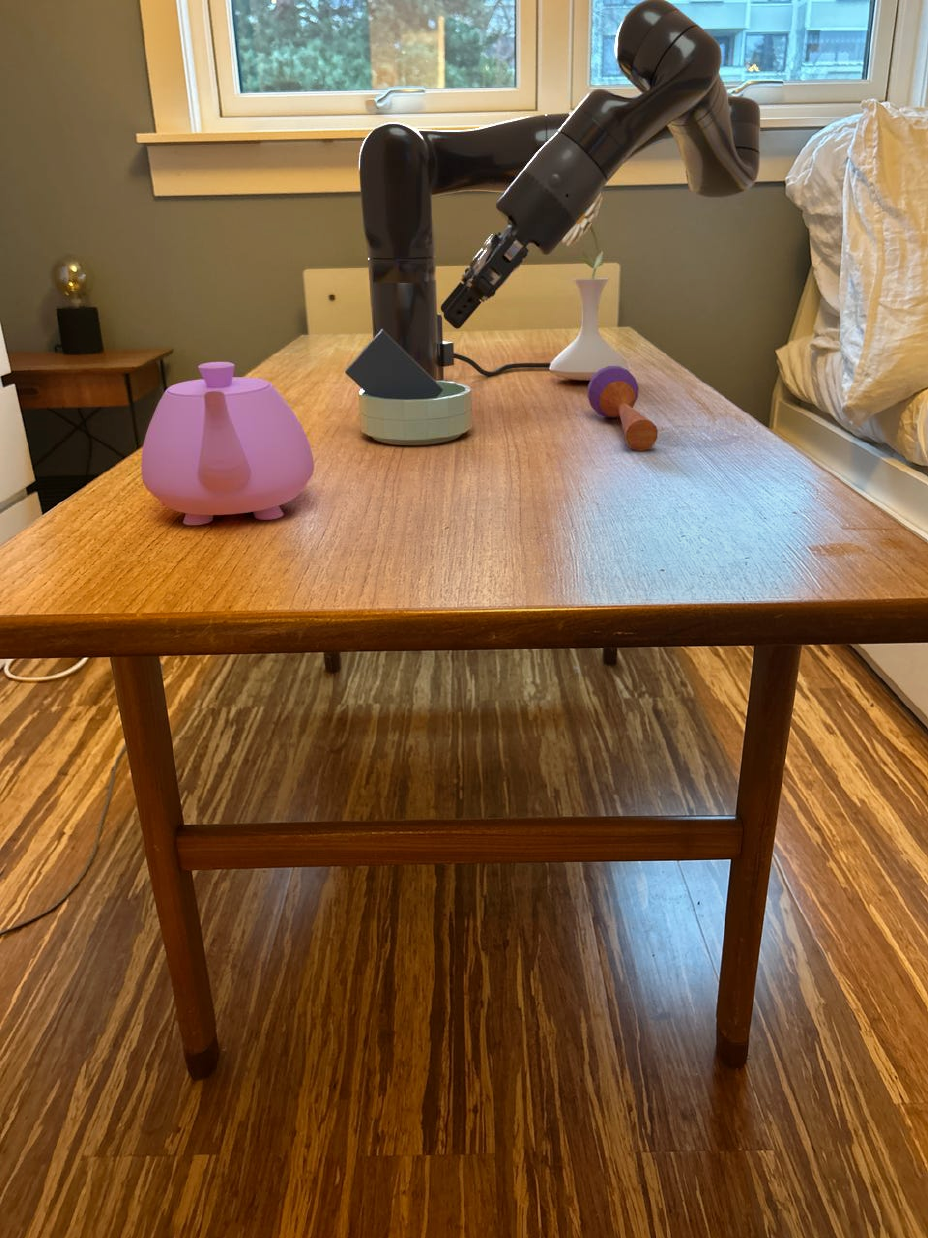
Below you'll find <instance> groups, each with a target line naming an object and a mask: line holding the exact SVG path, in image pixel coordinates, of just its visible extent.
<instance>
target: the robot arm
mask: <svg viewBox="0 0 928 1238" xmlns="http://www.w3.org/2000/svg"><path fill="white" fill-rule="evenodd" d="M722 53H723V52H722V48H721V46H720V44H719V42H718V40H716V39H715V38H714V36H712V35H711V33H709V32H708V31H707V30H705V29H704V28H702V27H701V26H700V25H699V24H698V23H696V22H695V21H694V20H692V19H691V18H690V17H688V16H687V15H686V14H684V12H683V11H681V10H680V9H679V8H677V6H675V5H674V4H672V3H671V2H670V1H668V0H642V1H641V2H639V3H637V4H636V5H635V6H634V7H632V8H631V9H630V10H629V11H628V13H627V14H626V15H625V16H624V18H623V19H622V21H621V23H620V25H619V27H618V30H617V33H616V37H615V43H614V57H615V61H616V65H617V67H618V69H619V70H620V72H621V73H622V75H624V77H625V78H626V79H627V80H628V81H629V82H630V83H631V84H632V85H633V86H634V87H635V88H636V89H637V90H638V91H639V92H641V93H640V94H638V95H635V96H633V97H626V96H622V95H619V94H617V93H615V92H612V91H610V90H608V89H604V88H597V89H593V90H592V91H591V92H589V93H588V94H587V95H586V96H585V97H584V98H583V100H582V101H581V102H580V103H579V104H578V106H577V107H576V108H575V109H574V110H573V112H564V113H562V112H561V113H551V114H539V115H531V116H525V117H520V118H519V117H518V118H515V119H514V118H513V119H511V120H505V121H502V122H498V123H495V124H490V125H487V126H483V127H479V128H475V129H474V128H473V129H467V130H466V129H465V130H434V129H433V130H432V129H417V128H412V127H411V126H409V125H406V124H404V123H399V122H388V123H384V124H381V125H379V126H377V127H375V128H374V129H373V130H372V131H371V132H369V134H368V135H367V137H365V139H364V141H363V143H362V146H361V147H360V152H359V161H358V171H359V172H358V173H359V175H358V176H359V188H360V202H361V214H362V215H361V216H362V226H363V227H362V228H363V234H364V238H365V241H366V248H367V264H368V265H367V266H368V280H369V297H370V298H369V299H370V313H371V316H370V317H371V332H372V334H371V335H372V339H373V338H374V337H375V336H376V335H377V334H378V333H379V332H380V330H381V329H383V330H384V331H385V332H386V333H387V334H388V335H389V336H390V337H391V338H392V339H393V340H394V341H395V342H396V343H397V344H398V345H399V346H400V347H401V348H402V349H403V350H404V351H405V352H406V353H407V354H408V355H409V356H410V357H411V358H412V359H413V360H414V361H416V362H417V363H418V364H419V365H420V366H421V367H422V368H423V369H424V370H425V371H426V372H427V373H428V374H429V375H430V376H431V377H432V378H433V379H434V380H437V381H445V370H444V368H445V367H450V366H455V359H456V360H460V361H461V362H462V361H463V362H465V363H467V364H468V365H470V366H471V367H472V368H473V369H474V370H476V372H478V373H479V374H481V375H483V376H486V377H494V376H498V375H500V374H501V373H503V372H504V371H507V370H511V369H522V368H525V369H527V368H528V369H529V368H530V369H531V368H533V369H534V368H538V369H542V368H543V369H548V368H549V367H550V364H551V362H515V363H508V364H504V365H501V366H500V367H498V368H496V369H495V370H493V371H488V370H485V369H483V368H482V367H481V366H480V365H479V364H478V363H477V362H475V361H474V360H473V359H471V358H469V357H468V356H465V355H463V354H459V353H456V352H455V348H454V342H452V341H444V338H443V336H444V335H443V334H444V333H443V318H444V320H445V321H447V323H449V324H450V325H451V326H452V327H453V328H454V329H456V330H457V329H460V328H462V327H463V325H464V324H465V323H466V322H467V321H468V319H469V318H470V317H471V316H472V315H473V314H474V313H475V311H476V309H478V307H479V306H480V305H481V304H482V303H484V302H486V301H488V300H489V299H490V298H492V297H494V296H495V295H496V292H497V291H498V290H499V289H500V288H501V287H502V286H504V284H505V283H506V282H507V280H508V279H509V277H510V276H511V275H512V274H513V273H514V272H515V271H516V270H518V269H519V267H520V266H521V265H522V264H523V262H524V260H523V259H526V257H527V256H528V254H529V252H530V250H529V249H528V248H527V247H528V245H530V246H531V247H533V248H534V249H535V250H536V251H538V252H539V253H540V254H541V255H543V256H549V255H550V254H551V253H552V252H553V251H554V250H555V248H556V247H557V246H558V245H559V244H560V242H562V241H563V238H564V237H565V235H566V234H567V233H568V232H569V231H570V229H571V228H572V227H573V226H574V225H575V224H576V222H577V221H578V220H579V219H580V218H581V217H582V215H583V214H584V213H585V212H586V211H587V209H588V208H589V207H590V206H591V205H592V203H593V202H594V201H595V199H596V198H597V196H598V195H599V193H601V192H602V190H603V189H604V188H605V186H606V184H607V183H609V181H610V180H611V179H612V177H614V175H615V174H616V173H617V172H618V170H619V169H620V168H621V167H622V165H623V164H625V163H626V162H627V161H629V160H630V159H632V158H633V157H635V156H636V155H638V154H639V153H641V152H643V151H645V150H646V149H648V148H650V147H651V146H654V145H657V144H660V143H663V142H666V141H670V140H674V141H675V143H676V146H677V148H678V151H679V153H680V156H681V158H682V161H683V165H684V167H685V177H686V181H687V185H688V189H689V190H690V191H691V192H692V193H693V194H695V195H696V196H697V197H700V198H704V199H707V200H709V199H710V200H720V199H728V198H733V197H736V196H739V195H741V194H743V193H745V192H747V191H749V190H750V189H751V188H752V187H753V186H754V185H755V183H756V182H757V179H758V176H759V171H760V164H761V109H760V108H761V107H760V105H759V103H758V102H757V101H755V100H754V99H752V98H749V97H744V96H728V93H727V89H726V86H725V84H724V81H723V78H722V76H721V75H720V71H721V66H722V59H723V58H722ZM474 191H475V192H491V193H503V194H502V195H501V196H499V197H500V198H498V199H497V201H496V203H495V208H496V210H497V211H498V213H499V214H500V215H501V217H502V218H503V219H504V220H505V221H506V223H507V227H506V228H505V229H504V230H503V232H500V231H498V232H497V233H492V234H491V235H490V236H489V237H488V238H487V239H486V240H485V242H484V243H483V244H482V248H481V249H480V250H479V251H478V252H477V253H476V255H475V256H474V257H473V258H472V260H470V263H469V267H466V268H465V270H464V272H463V274H462V275H461V279H460V282H459V283H458V284H457V285H456V287H455V288H454V289H452V291H451V293H450V294H449V295H448V297H446V298H445V300H444V301H443V302H442V304H441V305H440V311H441V312H442V313H443V315H441V314H440V313H438V297H437V295H438V294H437V269H436V267H437V265H436V237H435V231H434V221H433V207H432V206H433V205H432V201H433V200H432V197H437V196H442V195H448V194H454V193H462V192H474Z"/></svg>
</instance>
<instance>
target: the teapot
mask: <svg viewBox="0 0 928 1238" xmlns="http://www.w3.org/2000/svg"><path fill="white" fill-rule="evenodd" d="M197 367H198V370H199V371H198V372H199V373H200V375H201V377H202V379H200V378H199V379H193V380H188V381H183V382H182V381H181V382H179V383H175V384H173V385H170V386H169V387H168V388H167V389H166V390H165V391H164V392H163V395H162V396H161V398H160V399H159V401H158V403H157V406H156V408H155V411H154V413H153V414H152V417H151V419H150V422H149V424H148V428H147V430H146V432H145V436H144V441H143V447H142V451H141V470H140V471H141V478H142V483H143V486H144V488H146V490H147V491H148V492H149V493H150V494H151V495H152V496H153V497H154V498H155V499H156V500H158V501H159V502H160V503H161V504H163V506H165V507H166V508H168V509H170V510H172V511H174V512H178V513H182V514H183V513H184V514H185V516H184V518H183V521H182V524H184V525H186V526H202V525H205V524H209V523H211V522H213V520H214V516H222V515H223V516H224V515H237V514H246V513H252V512H253V515H254V518H255V519H258V520H262V521H263V520H266V521H267V520H276V519H279V518H282V517H283V516H284V512H283V510H282V508H281V507H280V506H281V505H284V504H286V503H288V502H291V501H293V500H294V499H295V498H297V497H299V495H300V494H301V493H302V491H303V490H304V489H305V487H306V486H307V484H308V483H309V482H310V480H311V478H312V477H313V475H314V471H315V461H314V455H313V451H312V448H311V445H310V441H309V439H308V436H307V434H306V432H305V430H304V428H303V425H302V424H301V421H300V420H299V418H298V417H297V416H296V414H295V412H294V411H293V409H292V408H291V406H290V405H289V404H288V403H287V401H286V399H285V398H284V397H283V396H282V394H281V393H280V392H279V390H277V389H276V387H275V386H274V385H273V384H272V382H269V381H268V380H266V379H262V378H256V377H245V376H244V377H242V376H241V377H240V376H239V377H238V376H236V377H235V376H234V372H235V364H234V363H232V362H229V361H211V362H205V363H201V364H199V365H198V366H197Z"/></svg>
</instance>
